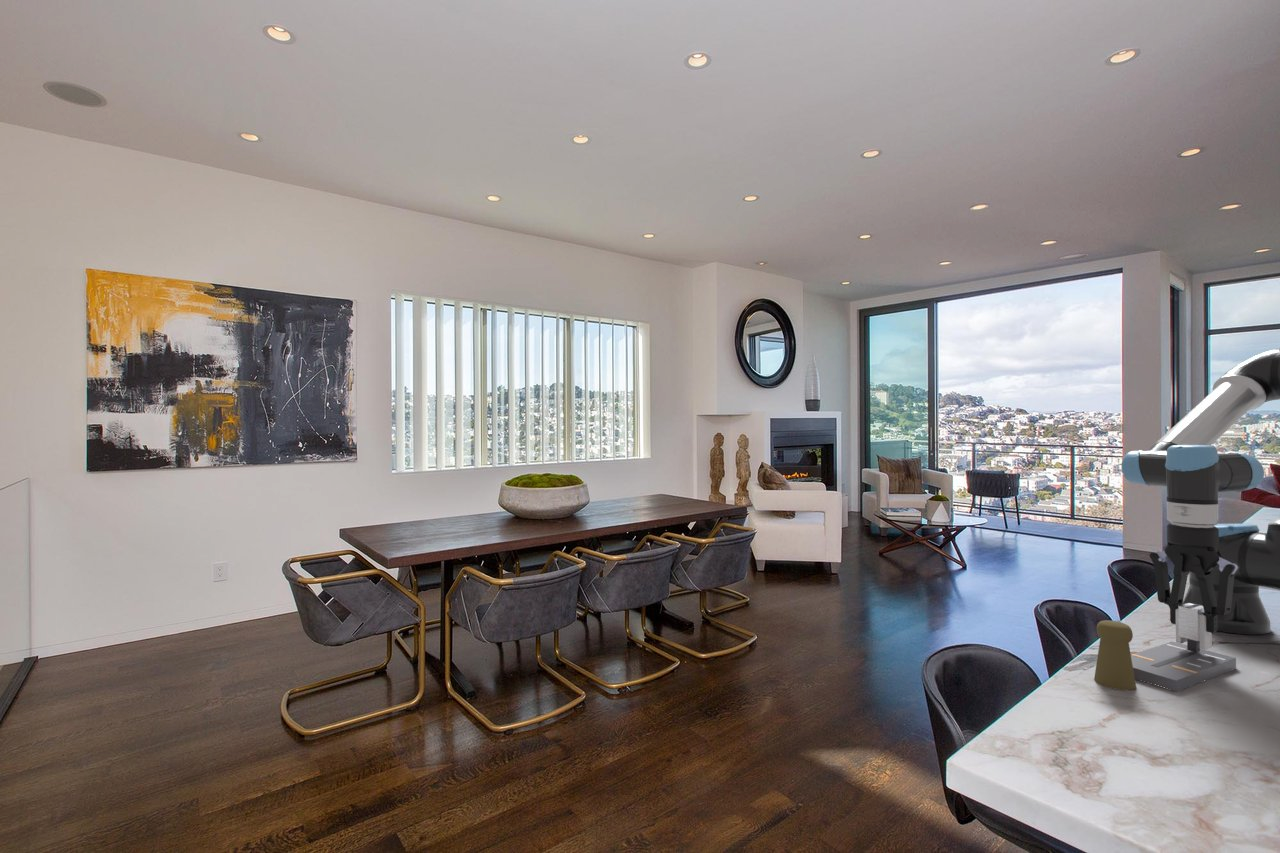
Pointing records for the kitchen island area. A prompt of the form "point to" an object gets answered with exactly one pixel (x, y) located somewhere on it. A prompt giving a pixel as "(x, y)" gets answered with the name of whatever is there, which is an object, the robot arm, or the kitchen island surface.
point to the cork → (1114, 656)
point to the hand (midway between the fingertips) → (1193, 644)
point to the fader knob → (1190, 625)
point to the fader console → (1179, 665)
